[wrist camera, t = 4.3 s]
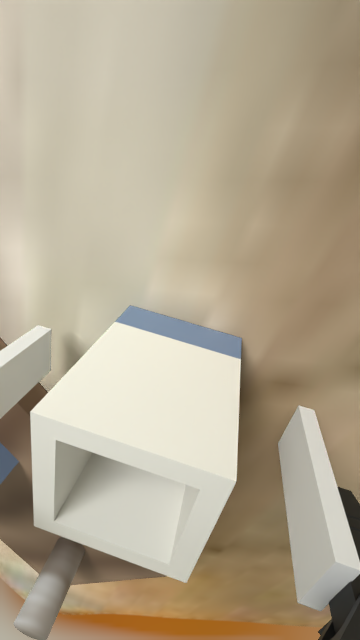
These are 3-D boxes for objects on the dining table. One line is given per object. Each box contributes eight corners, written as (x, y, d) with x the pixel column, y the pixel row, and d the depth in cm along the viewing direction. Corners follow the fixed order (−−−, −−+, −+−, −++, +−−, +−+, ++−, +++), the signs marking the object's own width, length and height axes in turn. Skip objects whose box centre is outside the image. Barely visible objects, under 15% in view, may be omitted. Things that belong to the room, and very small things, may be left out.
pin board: (-107, 400, 23) (-234, 479, 17) (-6, 331, 18) (-138, 409, 12) (65, 562, 29) (16, 664, 23) (180, 546, 24) (157, 674, 18)
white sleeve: (117, 391, 18) (33, 525, 11) (130, 305, 15) (30, 411, 8) (210, 421, 18) (186, 583, 10) (241, 338, 15) (236, 481, 8)
